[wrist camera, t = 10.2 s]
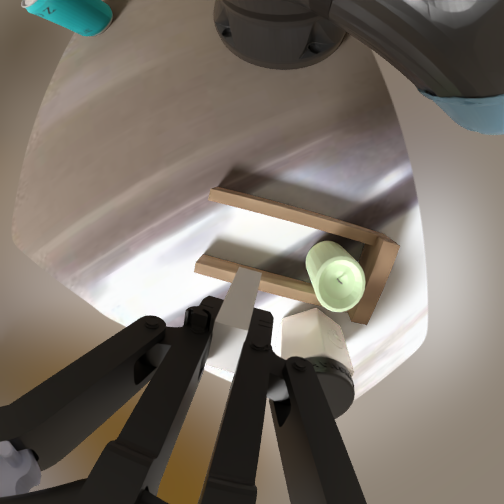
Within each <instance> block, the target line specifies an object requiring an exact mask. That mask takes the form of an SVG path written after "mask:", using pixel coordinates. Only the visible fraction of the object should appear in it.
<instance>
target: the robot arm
mask: <svg viewBox="0 0 504 504" xmlns="http://www.w3.org/2000/svg"><path fill="white" fill-rule="evenodd" d="M214 23H215V27H216V30H217V32H218V34H219V36H220V38H221V39H222V41H223V43H224V44H225V45H226V47H227V48H228V49H229V50H230V51H231V52H232V53H234V54H235V55H236V56H238V57H239V58H241V59H243V60H245V61H247V62H249V63H251V64H254V65H257V66H260V67H265V68H270V69H281V70H287V69H298V68H303V67H307V66H311V65H313V64H316V63H318V62H320V61H322V60H324V59H326V58H327V57H328V56H330V55H331V54H332V53H333V52H334V51H335V50H336V49H337V48H338V46H339V45H340V43H341V41H342V39H343V37H344V35H345V32H347V33H349V34H350V35H352V36H353V37H355V38H357V39H358V40H359V41H361V42H362V43H364V44H365V45H367V46H368V47H369V48H371V49H372V50H374V51H375V52H376V53H378V54H379V55H380V56H381V57H383V58H384V59H385V60H386V61H388V62H389V63H390V64H391V65H393V66H394V67H395V68H396V69H398V70H399V71H400V72H401V73H402V74H403V75H404V76H406V77H407V78H408V79H409V80H410V81H411V82H412V83H413V84H414V85H415V86H416V87H417V89H418V91H419V92H420V93H421V94H423V95H424V96H425V97H427V98H429V99H431V100H433V101H434V102H435V103H436V104H437V105H438V106H439V107H440V108H441V109H443V111H444V112H446V114H447V115H448V116H450V118H451V119H452V120H454V121H455V122H456V123H457V124H458V125H460V126H461V127H463V128H465V129H467V130H471V131H477V132H479V133H481V134H488V135H502V134H504V0H216V1H215V7H214ZM261 275H262V273H260V272H257V271H253V270H249V269H246V268H242V267H239V268H238V271H237V273H236V275H235V277H234V280H233V282H232V284H231V286H230V288H229V291H228V293H227V295H226V297H225V299H224V300H222V299H219V298H216V297H212V296H208V297H206V298H204V299H203V300H202V302H201V303H200V305H199V306H193V307H189V308H188V309H187V310H186V312H185V319H184V325H183V327H178V328H177V327H166V323H165V322H164V320H162V319H161V318H159V317H156V316H151V315H150V316H144V317H141V318H140V319H138V320H137V321H135V322H134V323H132V324H130V325H129V326H127V327H126V328H124V329H123V330H122V331H120V332H118V333H117V334H115V335H114V336H112V337H111V338H109V339H108V340H106V341H105V342H103V343H102V344H100V345H98V346H97V347H95V348H94V349H92V350H91V351H89V352H88V353H86V354H85V355H83V356H82V357H80V358H79V359H78V360H76V361H74V362H73V363H71V364H70V365H68V366H67V367H65V368H64V369H62V370H61V371H59V372H58V373H56V374H55V375H53V376H52V377H50V378H49V379H47V380H46V381H44V382H43V383H41V384H40V385H38V386H37V387H35V388H34V389H32V390H31V391H29V392H28V393H26V394H25V395H23V396H22V397H20V398H19V399H17V400H16V401H14V402H13V403H11V404H10V405H7V406H2V407H0V504H168V503H166V502H164V501H163V500H161V499H160V498H158V497H156V495H157V492H158V488H159V484H160V481H161V478H162V476H163V473H164V471H165V468H166V465H167V463H168V460H169V458H170V455H171V453H172V450H173V448H174V445H175V443H176V440H177V437H178V435H179V432H180V430H181V427H182V425H183V422H184V420H185V417H186V415H187V412H188V410H189V407H190V405H191V402H192V399H193V397H194V394H195V392H196V389H197V387H198V384H199V382H200V379H201V377H202V374H203V371H204V366H205V363H206V365H208V366H211V367H214V368H218V369H221V370H225V371H228V372H232V373H235V374H234V377H233V380H232V384H231V387H230V392H229V395H228V399H227V403H226V407H225V410H224V413H223V417H222V421H221V424H220V428H219V432H218V435H217V439H216V442H215V446H214V450H213V453H212V457H211V460H210V464H209V467H208V470H207V474H206V477H205V481H204V484H203V488H202V491H201V495H200V498H199V501H198V504H255V503H256V497H257V487H256V486H255V477H256V470H257V464H258V457H259V450H260V443H261V435H262V429H263V422H264V414H265V406H266V398H269V403H270V408H271V413H272V418H273V423H274V427H275V432H276V436H277V442H278V447H279V451H280V456H281V460H282V465H283V470H284V474H285V479H286V484H287V489H288V493H289V497H290V502H291V504H367V503H366V501H365V498H364V495H363V492H362V490H361V487H360V484H359V482H358V479H357V476H356V474H355V471H354V469H353V466H352V463H351V461H350V458H349V456H348V453H347V450H346V448H345V445H344V443H343V440H342V437H341V435H340V432H339V430H338V427H337V425H336V422H335V419H334V417H333V414H332V412H331V409H330V407H329V404H328V402H327V399H326V397H325V394H324V392H323V389H322V387H321V384H320V382H319V379H318V377H317V374H316V372H315V369H314V367H313V365H312V363H311V362H309V361H308V360H307V359H305V358H303V357H298V356H292V357H290V358H288V359H287V360H285V359H283V358H281V357H279V356H278V355H276V354H275V353H274V352H273V350H272V346H271V337H272V328H273V319H274V318H273V316H272V314H271V312H268V311H264V310H261V309H257V308H254V304H255V300H256V296H257V292H258V287H259V283H260V279H261ZM150 380H151V381H150ZM149 381H150V382H149ZM148 382H149V384H148V386H147V388H146V389H145V391H144V393H143V394H142V396H141V398H140V400H139V402H138V403H137V405H136V406H135V408H134V410H133V412H132V413H131V415H130V417H129V419H128V420H127V422H126V424H125V426H124V427H123V429H122V431H121V433H120V434H119V437H118V438H117V439H116V440H115V441H110V442H109V443H108V444H107V445H106V447H105V448H104V450H103V451H102V453H101V455H100V457H99V458H98V460H97V462H96V464H95V465H94V467H93V469H92V471H91V473H90V474H89V476H88V478H86V479H81V480H77V481H74V482H71V483H67V484H63V485H60V486H56V487H52V488H48V489H44V490H39V491H35V492H30V493H28V492H29V490H30V489H31V488H32V487H34V486H37V485H39V484H40V479H41V471H43V470H45V469H47V468H49V467H51V466H53V465H55V464H56V463H57V462H59V461H60V460H61V459H63V458H64V457H65V456H66V455H67V454H69V453H70V452H71V451H72V450H73V449H74V448H76V447H77V446H78V445H79V444H80V443H81V442H82V441H84V440H85V439H86V438H87V437H88V436H89V435H90V434H92V432H94V431H95V430H96V429H97V428H98V427H99V426H100V425H102V424H103V423H104V422H105V421H106V420H107V419H108V418H109V417H111V416H112V415H113V414H114V413H115V412H116V411H117V410H118V409H119V408H121V407H122V406H123V405H124V404H125V403H126V402H127V401H128V400H129V399H130V398H131V397H132V396H134V395H135V394H136V393H137V392H138V391H139V390H140V389H141V388H143V387H144V386H145V385H146V384H147V383H148Z"/></svg>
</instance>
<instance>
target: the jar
mask: <svg viewBox="0 0 504 504" xmlns="http://www.w3.org/2000/svg"><path fill="white" fill-rule="evenodd" d="M275 354H276V355H278V356H279V357H281V358H283V359H285V360H287V359H288V358H290V357H292V356H298V357H303V358H305V359H307V360H308V361H309V362H311V363H312V365H313V367H314V369H315V372H316V374H317V377H318V379H319V382H320V384H321V387H322V389H323V392H324V394H325V397H326V399H327V402H328V404H329V407H330V409H331V412H332V414H333V417H334V419H336V418H338V417H339V416H341V415H342V414H343V413H345V412H346V411H347V410H348V409H349V407H350V406H351V404H352V403H353V400H354V395H355V392H354V384H353V380H352V376H353V373H354V370H353V366H352V363H351V359H350V356H349V352H348V349H347V346H346V342H345V339H344V336H343V332H342V329H341V326H340V325H338V324H337V323H336V322H334V321H333V320H332V319H331V318H329V317H328V316H327V315H325V314H324V313H323V312H322V311H320V310H319V309H318V308H313V309H310V310H307V311H304V312H301V313H298V314H294V315H291V316H288V317H285V318H282V321H281V325H280V329H279V334H278V338H277V342H276V349H275Z"/></svg>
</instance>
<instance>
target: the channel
mask: <svg viewBox="0 0 504 504" xmlns="http://www.w3.org/2000/svg"><path fill="white" fill-rule="evenodd" d="M208 200H210V201H214V202H218V203H222V204H226V205H230V206H234V207H238V208H242V209H245V210H249V211H253V212H257V213H261V214H265V215H268V216H272V217H276V218H279V219H283V220H287V221H290V222H294V223H297V224H301V225H305V226H308V227H312V228H315V229H319V230H322V231H325V232H329V233H332V234H336V235H339V236H342V237H346V238H349V239H352V240H356V241H359V242H362V243H365V245H364V247H363V250H362V253H361V256H360V259H359V261H358V263H359V265H360V266H361V267H362V269H363V272H364V274H365V282H366V283H365V290H364V293H363V295H362V297H361V299H360V300H359V302H358V303H357V304H356V305H355V306H354V307H353V308H351V309H349V310H347V311H343V312H347V313H348V315H349V317H350V320H351V322H356V323H360V324H365V325H367V324H368V322H369V320H370V317H371V315H372V313H373V311H374V309H375V307H376V304H377V302H378V300H379V298H380V295H381V293H382V291H383V288H384V286H385V284H386V281H387V279H388V276H389V274H390V271H391V269H392V266H393V264H394V261H395V258H396V256H397V253H398V250H399V248H400V246H399V245H398V244H397V243H396V242H394V241H393V240H391V239H390V238H389V237H387V236H386V235H385V234H382V233H379V232H376V231H373V230H370V229H367V228H364V227H361V226H358V225H355V224H351V223H348V222H345V221H342V220H339V219H335V218H332V217H329V216H325V215H322V214H319V213H315V212H312V211H308V210H305V209H301V208H298V207H294V206H291V205H287V204H283V203H280V202H276V201H272V200H268V199H265V198H261V197H257V196H253V195H249V194H245V193H241V192H237V191H233V190H229V189H225V188H221V187H215V188H212V189H211V190H210V194H209V199H208ZM239 267H242V268H246V269H249V270H253V271H257V272H260V273H262V275H261V279H260V283H259V287H258V290H260V291H263V292H267V293H271V294H275V295H279V296H283V297H286V298H290V299H294V300H298V301H302V302H306V303H310V304H314V305H318V306H322V305H321V303H320V302H319V301H318V299H317V296H316V294H315V291H314V288H313V285H312V283H308V282H304V281H301V280H297V279H293V278H289V277H286V276H282V275H278V274H274V273H271V272H267V271H263V270H259V269H256V268H252V267H248V266H245V265H241V264H237V263H234V262H230V261H226V260H223V259H219V258H215V257H212V256H208V255H205V254H203V255H202V256H201V257H200V258H199V259H198V261H197V262H196V264H195V270H194V272H195V273H199V274H202V275H206V276H209V277H213V278H216V279H220V280H223V281H227V282H230V283H232V282H233V280H234V277H235V275H236V273H237V271H238V268H239ZM322 307H324V306H322Z"/></svg>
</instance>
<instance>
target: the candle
mask: <svg viewBox="0 0 504 504" xmlns="http://www.w3.org/2000/svg"><path fill="white" fill-rule="evenodd" d="M306 269H307V271H308V274H309V277H310V280H311V282H312V285H313V288H314V291H315V294H316V296H317V299H318V301H319V302H320V303H321V305H322V306H324V307H325V308H326V309H328V310H330V311H333V312H343V311H347V310H349V309H351V308H353V307H354V306H355V305H356V304H357V303H358V302H359V300H360V299H361V297H362V295H363V293H364V290H365V283H366V282H365V274H364V272H363V269H362V267H361V266H360V265H359V263H358V262H357V261H356V260H355V259H354V258H353V257H352V256H351V255H350V254H349V253H348V252H347V251H346V250H345V249H344V248H343V247H342V246H340V245H339V244H338V243H336V242H333V241H322V242H320V243H317V244H316V245H314V246H313V247H312V248H311V249H310V251H309V252H308V254H307V257H306Z"/></svg>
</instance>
